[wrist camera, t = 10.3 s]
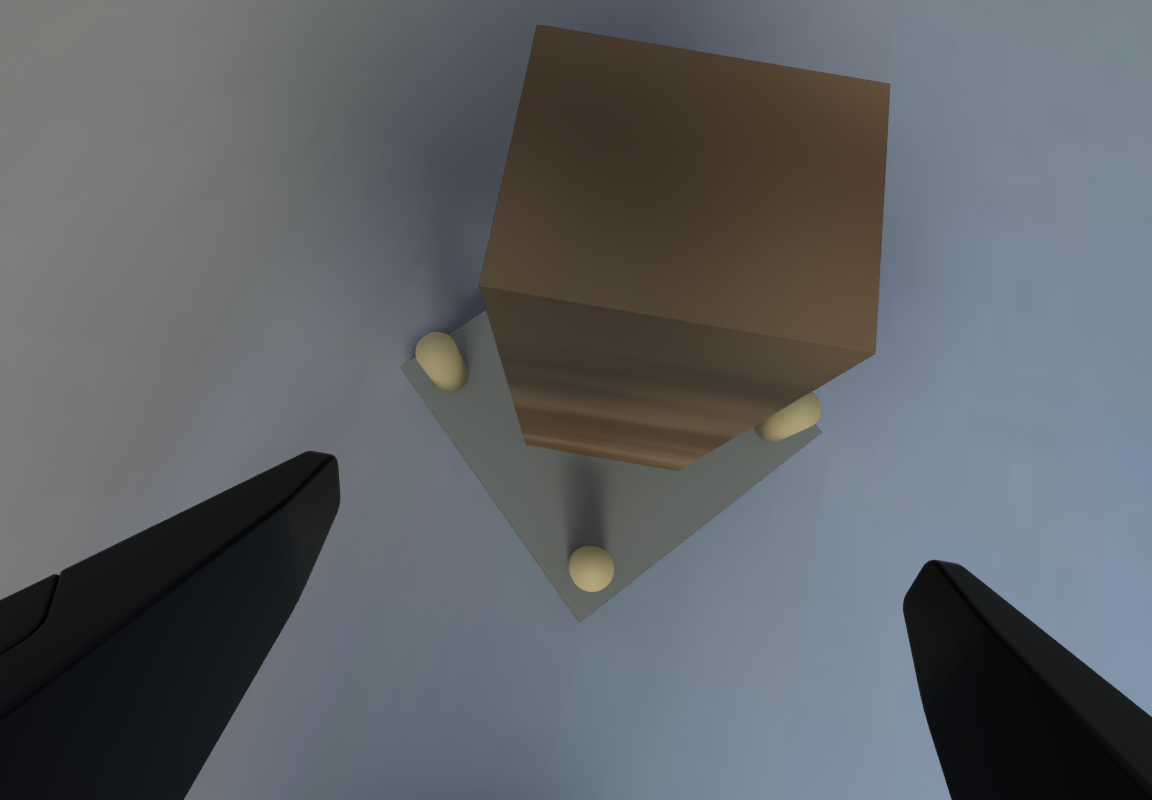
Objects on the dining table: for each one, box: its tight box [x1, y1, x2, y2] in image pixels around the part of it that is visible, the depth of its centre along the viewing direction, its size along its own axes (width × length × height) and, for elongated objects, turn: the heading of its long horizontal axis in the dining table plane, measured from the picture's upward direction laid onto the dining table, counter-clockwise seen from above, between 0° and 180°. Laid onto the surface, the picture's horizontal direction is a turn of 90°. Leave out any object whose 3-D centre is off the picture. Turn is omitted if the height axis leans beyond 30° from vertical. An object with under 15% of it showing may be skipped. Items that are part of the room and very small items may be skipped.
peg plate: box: [400, 310, 822, 623], centre depth 19 cm, size 10×10×4 cm
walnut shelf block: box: [479, 24, 890, 471], centre depth 14 cm, size 4×5×12 cm
